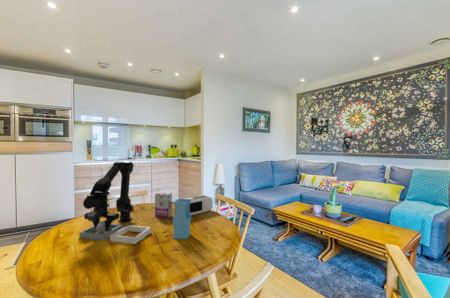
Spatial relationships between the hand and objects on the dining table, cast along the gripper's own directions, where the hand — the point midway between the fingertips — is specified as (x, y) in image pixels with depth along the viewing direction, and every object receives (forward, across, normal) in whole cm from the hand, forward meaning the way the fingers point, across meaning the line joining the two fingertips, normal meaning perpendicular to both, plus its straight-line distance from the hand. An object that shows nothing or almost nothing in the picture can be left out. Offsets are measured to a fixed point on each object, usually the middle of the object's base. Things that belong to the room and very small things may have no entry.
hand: (101, 230), depth 123 cm
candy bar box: (+2, +20, +35) cm, 40 cm away
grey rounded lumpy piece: (+2, 0, 0) cm, 2 cm away
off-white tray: (+2, +19, 0) cm, 19 cm away
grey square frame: (+2, 0, 0) cm, 2 cm away
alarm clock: (+2, +39, +47) cm, 61 cm away
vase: (+2, +46, +7) cm, 47 cm away
